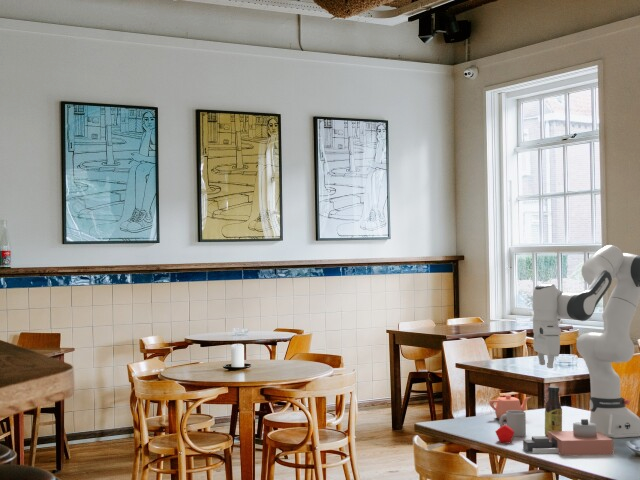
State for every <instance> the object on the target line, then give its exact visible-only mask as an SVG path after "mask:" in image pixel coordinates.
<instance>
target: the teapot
mask: <svg viewBox="0 0 640 480" xmlns="http://www.w3.org/2000/svg"><path fill="white" fill-rule="evenodd" d="M531 398H532V396H528V397H525V398H524V399H523V401H522V404H521V402H520V399H519V398H517V397H514V396H512V395H511V394H505V395H504V396H501V397H500V396H499V397H497V398H496V399H491V400H489V403H488V404H489V406H490V407H491V408H492V410H494V413H495V416H496V418H497V419H498V420H500V417H501V416H502V415H503V414H506V412H507V411H511V410H518V411H524V412H525V411H526V408H527V402H528V400H530V399H531ZM494 403H495V405H494ZM504 422H507V418H505V419H504Z"/></svg>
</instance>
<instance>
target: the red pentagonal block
mask: <svg viewBox="0 0 640 480" xmlns="http://www.w3.org/2000/svg"><path fill="white" fill-rule="evenodd" d="M495 434H496V436H497V439H498V440H499V442H500V443H501V444H510V443H511V442H512V440H513V438H514V437H513V435H514V431H513V430H512V429H511V428H510V427H508V426H507V424H504V426H502V427H500V426H499V427H498V428H497V430H495ZM509 442H510V443H509Z"/></svg>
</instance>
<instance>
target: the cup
mask: <svg viewBox="0 0 640 480" xmlns="http://www.w3.org/2000/svg"><path fill="white" fill-rule="evenodd" d="M526 415H527V414H526V411H525V410H524V411H518V410H511V411H507V412H506V414H503V415H502V416H501V417H500V419H498V421H499V428H500V427H502V426H504V425H505V423H504V422H505V421H504V419H505V418H507V421H506V425H507V426H508V427H510V428H511V429H512V430H513V431H514V435H513V438H514V437H515V438H520V437H525V436H526V435H527V425H526V424H527V423H526Z"/></svg>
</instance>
